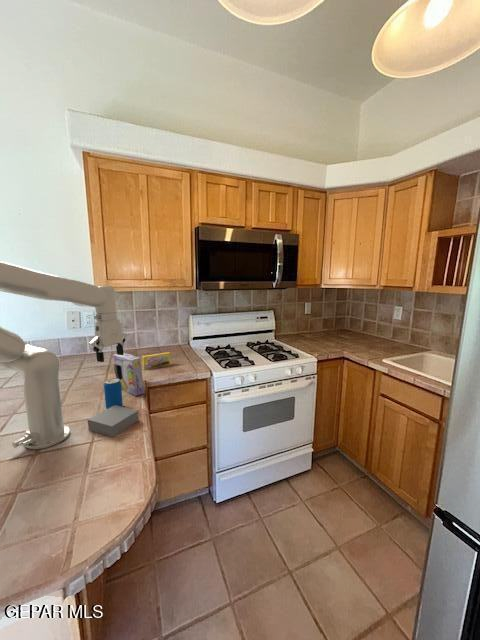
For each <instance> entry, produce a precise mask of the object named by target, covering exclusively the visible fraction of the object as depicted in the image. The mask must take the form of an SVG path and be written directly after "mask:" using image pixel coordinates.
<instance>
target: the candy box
mask: <svg viewBox="0 0 480 640" xmlns="http://www.w3.org/2000/svg"><path fill="white" fill-rule="evenodd" d="M170 354H171V353H170V351H168V352H161V353H155V354H149V355H142V370H143V371H144V370H152V369H157V368H160V367H161V368H163V367H167V366H170V365H171V355H170Z"/></svg>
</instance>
